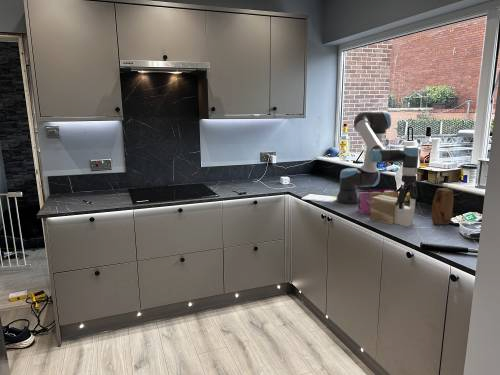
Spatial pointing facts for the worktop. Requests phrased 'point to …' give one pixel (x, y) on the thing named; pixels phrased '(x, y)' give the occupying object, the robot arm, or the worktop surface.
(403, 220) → the block
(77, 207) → the worktop surface
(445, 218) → the block
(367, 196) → the gum box
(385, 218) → the tan wooden box
